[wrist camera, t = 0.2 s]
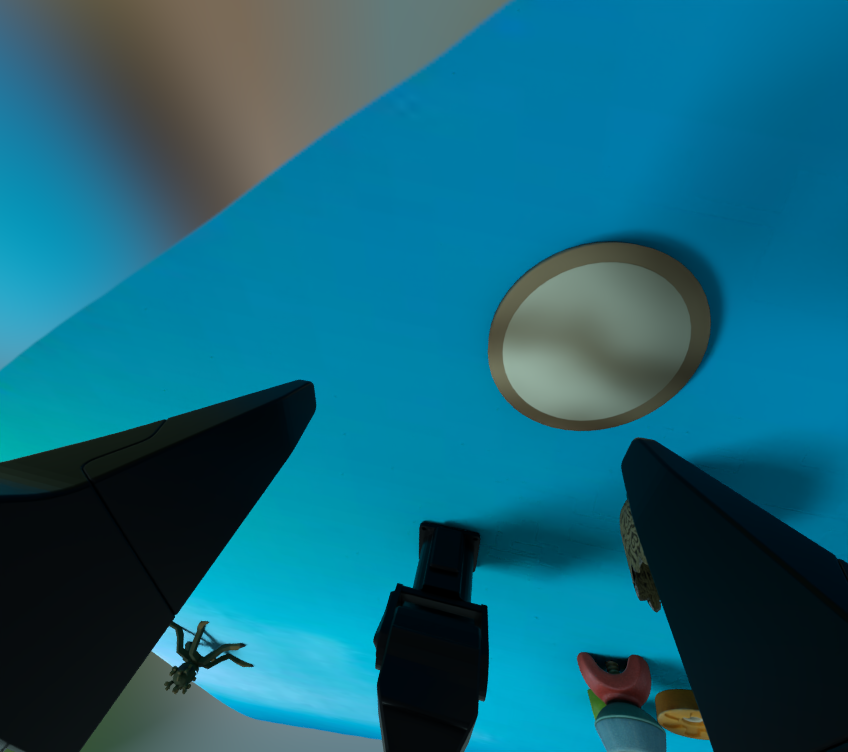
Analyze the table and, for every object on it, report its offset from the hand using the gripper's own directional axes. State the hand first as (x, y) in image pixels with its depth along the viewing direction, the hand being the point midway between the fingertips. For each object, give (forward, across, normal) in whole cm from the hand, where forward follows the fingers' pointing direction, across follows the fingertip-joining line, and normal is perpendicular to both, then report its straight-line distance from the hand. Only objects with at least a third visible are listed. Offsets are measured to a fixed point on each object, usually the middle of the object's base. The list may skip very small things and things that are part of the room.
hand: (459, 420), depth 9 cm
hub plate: (+14, -8, +2) cm, 16 cm away
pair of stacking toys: (+15, -28, +47) cm, 57 cm away
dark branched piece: (+16, +47, +81) cm, 95 cm away
